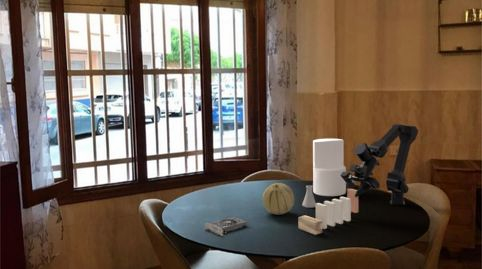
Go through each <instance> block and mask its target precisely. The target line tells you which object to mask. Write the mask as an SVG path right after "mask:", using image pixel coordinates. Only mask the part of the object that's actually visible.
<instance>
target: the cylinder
mask: <svg viewBox="0 0 482 269" xmlns="http://www.w3.org/2000/svg"><path fill="white" fill-rule="evenodd" d="M344 143H345V142H344V139H341V138H317V139H314V140H312V165H313V166H312V167H313V168H312V170H313V171H312V175H313V176H312V179H313V180H312V181H313V182H312V186H313V188H312V192H313V193H314V194H315V195H318V196H322V197H338V196H339V197H340V196H343V195H346V194H345V193H346V187H347V183H346V182H345V181H344V180H343V178H342V177H341V176H340V175H341V173H342V172H347V171H346V170H347V166H345V165H344V163H345V162H344V159H345V158H344V157H345V155H344Z"/></svg>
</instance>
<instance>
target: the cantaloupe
mask: <svg viewBox="0 0 482 269" xmlns="http://www.w3.org/2000/svg"><path fill="white" fill-rule="evenodd" d="M262 203H263V206H264V207H263V208H265V209H266V210H267V212H268V213H270V214H272V215H277V216H279V215H284V214H286V213H289V211H290V210H291V209H292V208H293V207H294V204H295V195H294V192H293V190H292V188H291V187H289V186H288V185H286V184H285V183H280V182H276V183H272V184H270V185H269V186H268V187H266V189H265V190H264V192H263V194H262Z"/></svg>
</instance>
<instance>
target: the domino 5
mask: <svg viewBox="0 0 482 269" xmlns="http://www.w3.org/2000/svg"><path fill="white" fill-rule="evenodd" d="M357 190H358V189H354V188H353V189H350V188H349V189H347V195H346V198H350V199H351V213H354V214H357V213H359V196H358V197H355V194H356V192H357Z"/></svg>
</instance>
